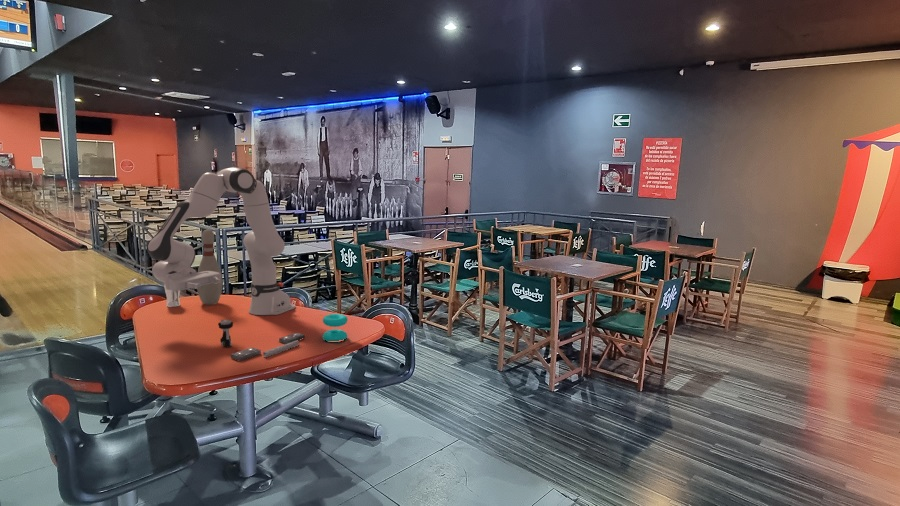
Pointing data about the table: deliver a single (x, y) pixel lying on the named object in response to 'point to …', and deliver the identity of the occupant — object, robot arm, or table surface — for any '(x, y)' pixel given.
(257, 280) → the robot arm
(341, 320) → the donuts
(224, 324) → the push button
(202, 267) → the bowling pin
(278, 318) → the table surface
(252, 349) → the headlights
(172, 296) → the beer glass
